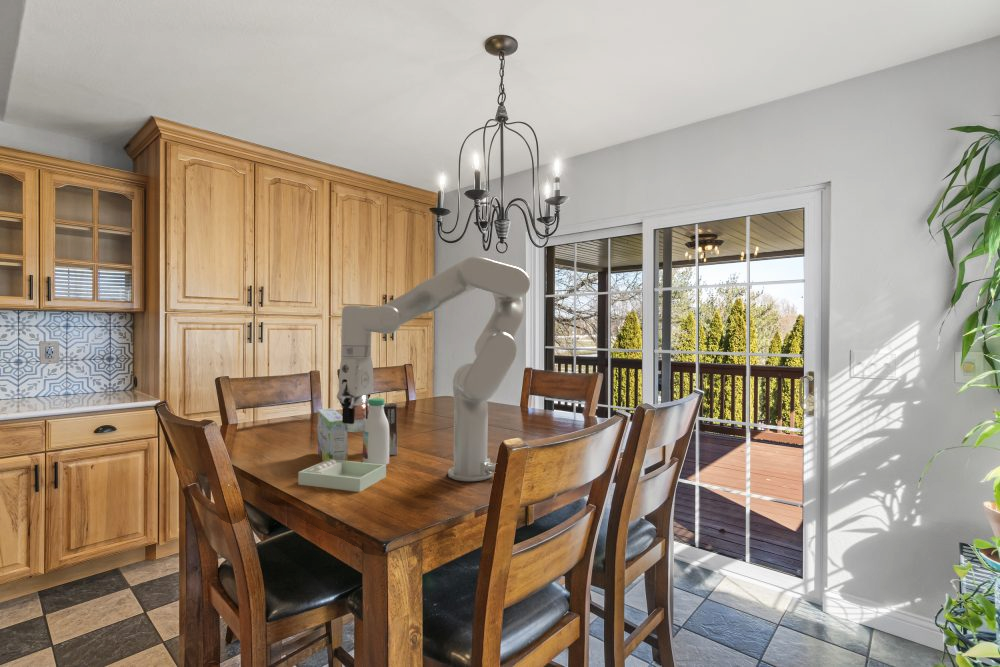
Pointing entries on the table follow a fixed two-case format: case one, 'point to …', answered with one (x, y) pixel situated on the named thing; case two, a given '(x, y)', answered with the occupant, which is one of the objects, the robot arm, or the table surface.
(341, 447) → the snack box
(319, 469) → the egg carton
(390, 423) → the coffee box
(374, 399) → the milk bottle
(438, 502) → the table surface
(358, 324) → the robot arm
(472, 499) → the table surface
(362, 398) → the tin can
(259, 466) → the table surface
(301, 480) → the pale green tray
